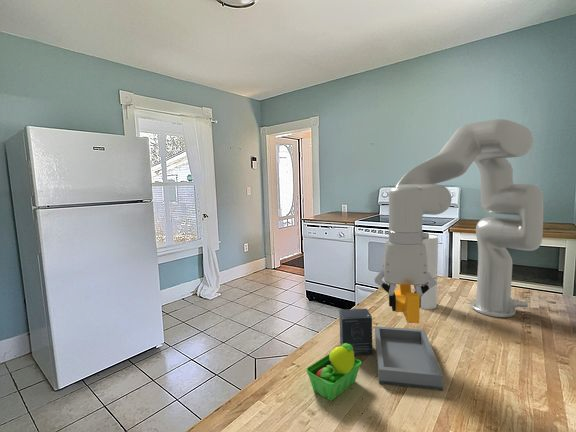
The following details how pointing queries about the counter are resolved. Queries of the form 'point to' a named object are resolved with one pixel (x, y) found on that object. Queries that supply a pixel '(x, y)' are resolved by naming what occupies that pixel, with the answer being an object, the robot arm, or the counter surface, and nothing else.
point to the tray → (406, 359)
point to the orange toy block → (408, 303)
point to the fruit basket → (334, 372)
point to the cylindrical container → (431, 272)
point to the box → (356, 330)
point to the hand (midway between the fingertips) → (404, 308)
